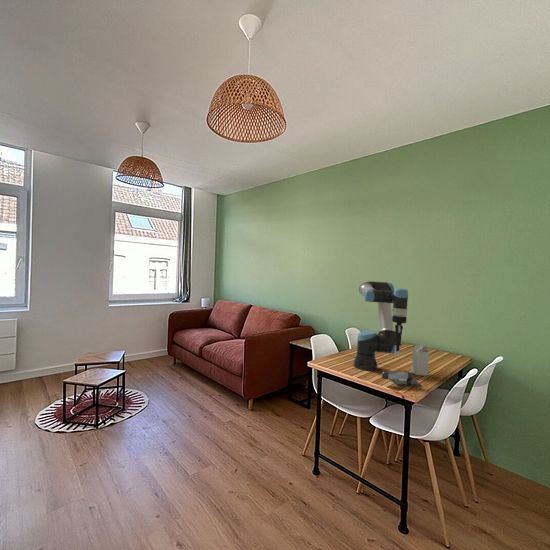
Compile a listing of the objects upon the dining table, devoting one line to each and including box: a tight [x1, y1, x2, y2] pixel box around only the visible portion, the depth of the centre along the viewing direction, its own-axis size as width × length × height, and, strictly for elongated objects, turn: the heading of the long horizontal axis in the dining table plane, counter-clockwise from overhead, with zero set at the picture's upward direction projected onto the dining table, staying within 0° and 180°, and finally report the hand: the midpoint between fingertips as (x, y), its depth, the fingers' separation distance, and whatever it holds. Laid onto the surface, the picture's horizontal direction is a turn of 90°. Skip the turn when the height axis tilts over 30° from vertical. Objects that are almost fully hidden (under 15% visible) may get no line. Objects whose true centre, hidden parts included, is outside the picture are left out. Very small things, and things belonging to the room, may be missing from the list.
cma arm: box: [381, 370, 414, 380], centre depth 164 cm, size 18×4×3 cm, turn 96°
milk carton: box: [410, 342, 430, 377], centre depth 186 cm, size 7×7×19 cm
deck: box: [388, 378, 422, 387], centre depth 172 cm, size 16×14×4 cm
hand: (397, 356), depth 168 cm, fingers closed
